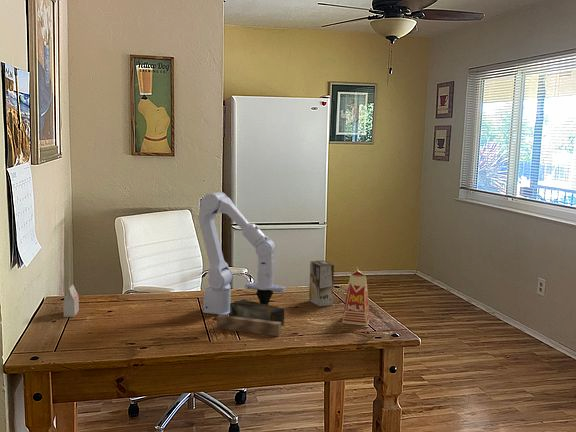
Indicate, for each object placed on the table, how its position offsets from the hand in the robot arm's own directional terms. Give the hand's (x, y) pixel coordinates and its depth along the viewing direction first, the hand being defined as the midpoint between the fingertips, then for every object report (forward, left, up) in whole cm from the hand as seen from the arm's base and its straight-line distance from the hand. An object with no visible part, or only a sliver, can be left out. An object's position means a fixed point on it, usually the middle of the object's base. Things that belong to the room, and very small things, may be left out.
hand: (264, 310), depth 211 cm
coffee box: (+15, +25, -3) cm, 29 cm away
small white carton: (-65, -22, -3) cm, 69 cm away
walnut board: (0, -17, -2) cm, 17 cm away
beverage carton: (-1, -6, -3) cm, 7 cm away
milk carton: (+32, +8, -3) cm, 33 cm away
